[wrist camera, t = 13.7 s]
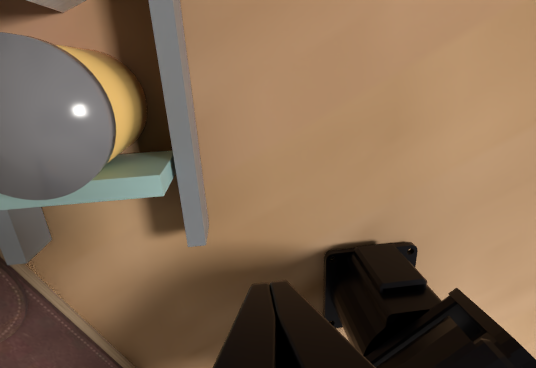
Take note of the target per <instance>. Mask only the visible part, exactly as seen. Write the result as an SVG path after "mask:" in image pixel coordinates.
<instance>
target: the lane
mask: <svg viewBox="0 0 536 368" xmlns="http://www.w3.org/2000/svg"><path fill="white" fill-rule="evenodd" d="M148 1H149V7H150V13H151V19H152V26H153V32H154V38H155V44H156V51H157V57H158V63H159V69H160V75H161V82H162V88H163V94H164V100H165V107H166V113H167V119H168V125H169V131H170V138H171V144H172V150H173V156H174V163H175V169H176V175H177V181H178V187H179V194H180V200H181V206H182V212H183V219H184V225H185V231H186V237H187V244H188V247H193V246H203V245H206V242H207V235H208V228H209V221H208V213H207V205H206V198H205V190H204V182H203V175H202V167H201V159H200V152H199V144H198V136H197V128H196V121H195V113H194V105H193V98H192V90H191V82H190V75H189V67H188V59H187V51H186V44H185V36H184V28H183V21H182V13H181V5H180V0H148ZM51 240H52V238H51V235H50V232H49V229H48V226H47V223H46V220H45V217H44V214H43V211H42V208H41V207H32V208H21V209H9V210H0V249H1V251H2V254H3V256H4V258H5V261H6V263H7V265H15V264H25V263H28V262H29V261H30V260H31V259H32V258H33V257H34V256H35V255H36V254H37V253H38V252H39V251H41V250H42V249H43V248H44V247H45V246H46V245H47V244H48V243H49V242H50V241H51Z"/></svg>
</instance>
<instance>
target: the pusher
mask: <svg viewBox="0 0 536 368" xmlns="http://www.w3.org/2000/svg"><path fill="white" fill-rule="evenodd" d="M175 174H176V169H175V163H174V156H173V150H172V151H158V152H145V153H132V154H119V155H117V156H116V157H115V158H113V159H112V160H111V161H109V162H108V163H107V164H106V166H105V167H104V169H103V170H102V171H101V172H100V173H99V174H98V175H97V176H96V177H95V178H93V179H92V180H91V181H90V182H88V183H87V184H86V185H85V186H83V187H82V188H80V189H79V190H77V191H75V192H73V193H71V194H69V195H66V196H63V197H59V198H56V199H49V200H25V199H19V198H14V197H10V196H7V195H3V194H0V210H9V209H21V208H32V207H44V206H55V205H67V204H78V203H90V202H101V201H113V200H125V199H136V198H148V197H159V196H164V195H165V193H166V191H167V189H168V187H169V185H170V183H171V181H172V179H173V178H174V176H175Z"/></svg>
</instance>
